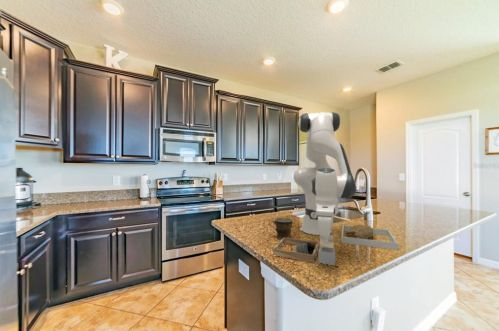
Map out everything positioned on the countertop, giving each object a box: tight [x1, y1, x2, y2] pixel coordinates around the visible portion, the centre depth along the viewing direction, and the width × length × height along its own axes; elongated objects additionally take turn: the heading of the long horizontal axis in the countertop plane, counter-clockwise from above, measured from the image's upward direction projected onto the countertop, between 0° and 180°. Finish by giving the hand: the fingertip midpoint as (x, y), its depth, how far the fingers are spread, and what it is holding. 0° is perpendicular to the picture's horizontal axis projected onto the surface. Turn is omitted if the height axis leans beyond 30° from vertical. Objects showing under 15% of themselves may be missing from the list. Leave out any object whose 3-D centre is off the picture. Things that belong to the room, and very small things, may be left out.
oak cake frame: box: [272, 237, 320, 264], centre depth 97 cm, size 17×17×3 cm
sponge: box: [344, 224, 374, 240], centre depth 118 cm, size 13×8×20 cm
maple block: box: [319, 231, 335, 248], centre depth 87 cm, size 5×5×5 cm
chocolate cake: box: [294, 240, 315, 255], centre depth 95 cm, size 10×7×12 cm
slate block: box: [317, 245, 336, 267], centre depth 87 cm, size 6×6×5 cm
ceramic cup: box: [268, 217, 294, 240], centre depth 118 cm, size 13×10×10 cm
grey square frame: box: [341, 224, 399, 250], centre depth 116 cm, size 24×24×3 cm
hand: (327, 241), depth 87 cm, fingers closed on maple block, 5 cm apart
